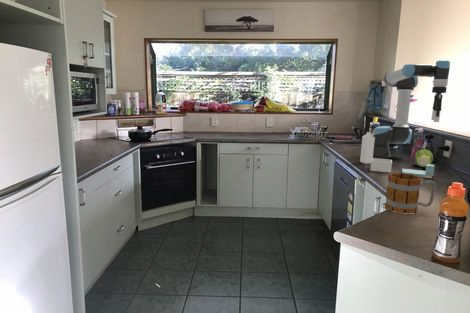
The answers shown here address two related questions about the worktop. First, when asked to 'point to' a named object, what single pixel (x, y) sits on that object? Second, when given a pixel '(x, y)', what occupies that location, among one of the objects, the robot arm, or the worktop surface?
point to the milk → (367, 148)
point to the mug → (405, 192)
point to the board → (426, 176)
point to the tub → (381, 165)
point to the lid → (428, 171)
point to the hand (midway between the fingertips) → (435, 121)
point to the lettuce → (423, 157)
